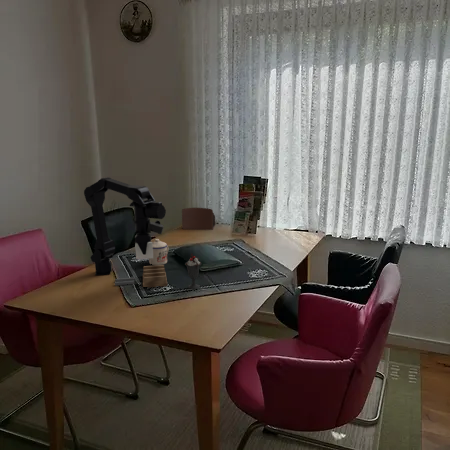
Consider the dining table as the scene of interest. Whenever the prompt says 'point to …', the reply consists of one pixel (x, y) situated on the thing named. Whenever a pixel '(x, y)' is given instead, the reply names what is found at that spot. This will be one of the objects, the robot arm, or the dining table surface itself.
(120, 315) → the dining table surface
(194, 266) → the sundae
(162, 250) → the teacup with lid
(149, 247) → the upright white panel
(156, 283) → the rack
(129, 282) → the rails
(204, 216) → the letter holder
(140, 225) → the robot arm
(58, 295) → the dining table surface
